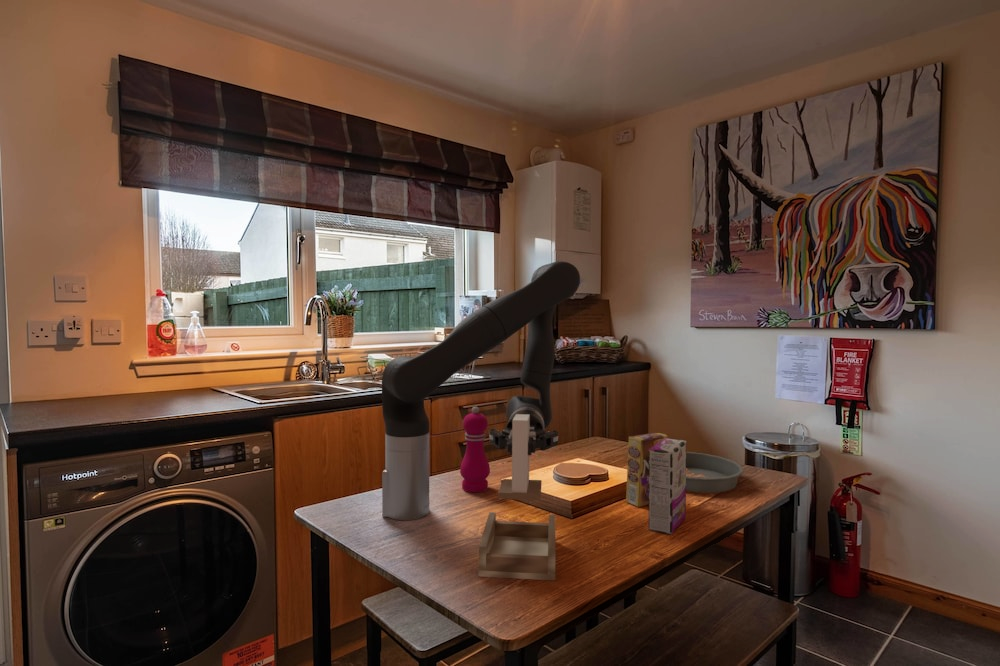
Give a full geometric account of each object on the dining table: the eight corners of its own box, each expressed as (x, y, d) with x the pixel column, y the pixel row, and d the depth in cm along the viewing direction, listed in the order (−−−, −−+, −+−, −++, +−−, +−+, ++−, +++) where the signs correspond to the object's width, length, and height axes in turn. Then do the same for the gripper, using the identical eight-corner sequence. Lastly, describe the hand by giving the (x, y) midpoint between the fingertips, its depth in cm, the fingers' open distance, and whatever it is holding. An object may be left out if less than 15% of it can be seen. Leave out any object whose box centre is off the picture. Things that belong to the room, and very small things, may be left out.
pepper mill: (472, 482, 141) (473, 403, 141) (495, 487, 137) (496, 406, 136) (453, 489, 136) (454, 407, 135) (477, 495, 131) (477, 410, 130)
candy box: (639, 508, 123) (641, 439, 123) (625, 502, 127) (626, 435, 126) (667, 501, 128) (668, 434, 128) (652, 495, 132) (653, 431, 131)
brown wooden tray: (478, 576, 91) (478, 546, 91) (489, 538, 107) (489, 512, 106) (555, 580, 90) (555, 549, 90) (554, 541, 105) (555, 514, 105)
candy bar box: (662, 513, 121) (663, 437, 120) (686, 517, 118) (687, 440, 117) (646, 530, 111) (647, 448, 110) (671, 535, 108) (673, 451, 108)
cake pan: (623, 479, 146) (623, 462, 145) (673, 462, 162) (673, 446, 162) (714, 503, 127) (715, 484, 127) (760, 481, 144) (760, 464, 144)
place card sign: (498, 498, 93) (498, 420, 94) (503, 484, 103) (504, 413, 104) (540, 500, 93) (540, 421, 93) (541, 485, 103) (542, 414, 103)
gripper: (491, 408, 114) (480, 426, 97) (560, 410, 113) (561, 428, 96) (491, 445, 115) (480, 469, 97) (559, 447, 113) (561, 472, 96)
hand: (520, 449), depth 97 cm, fingers closed on place card sign, 2 cm apart
